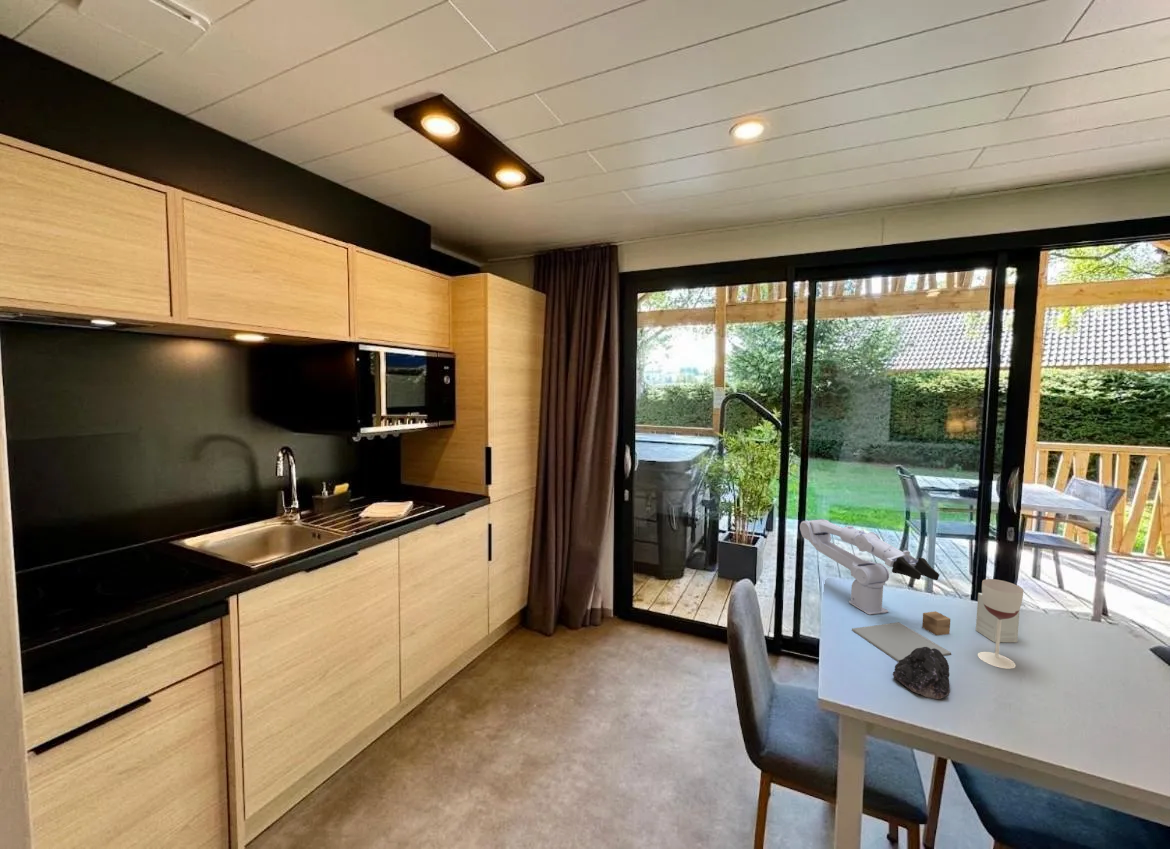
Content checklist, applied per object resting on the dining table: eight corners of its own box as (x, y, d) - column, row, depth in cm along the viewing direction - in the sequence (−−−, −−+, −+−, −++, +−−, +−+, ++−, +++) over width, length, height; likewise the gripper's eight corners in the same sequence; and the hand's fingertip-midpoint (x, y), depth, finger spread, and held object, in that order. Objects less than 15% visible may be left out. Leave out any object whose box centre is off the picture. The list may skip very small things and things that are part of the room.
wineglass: (981, 664, 135) (987, 589, 133) (972, 647, 144) (978, 576, 141) (1021, 673, 131) (1028, 596, 129) (1010, 655, 139) (1017, 582, 137)
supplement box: (1018, 642, 146) (1021, 603, 145) (993, 642, 146) (996, 603, 145) (998, 630, 153) (1001, 592, 152) (974, 630, 154) (977, 592, 152)
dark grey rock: (905, 700, 122) (913, 665, 120) (881, 664, 135) (887, 632, 133) (963, 708, 120) (971, 673, 118) (932, 671, 133) (939, 639, 131)
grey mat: (851, 630, 154) (851, 628, 154) (898, 623, 158) (898, 622, 157) (899, 662, 136) (899, 660, 136) (951, 654, 140) (951, 652, 140)
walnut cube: (922, 627, 155) (923, 613, 155) (934, 625, 156) (935, 611, 156) (936, 635, 150) (937, 620, 150) (949, 633, 152) (950, 618, 151)
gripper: (877, 542, 156) (916, 564, 144) (910, 545, 161) (949, 566, 148) (871, 562, 158) (908, 585, 145) (903, 564, 162) (942, 586, 150)
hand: (928, 577), depth 147 cm, fingers open, 7 cm apart
